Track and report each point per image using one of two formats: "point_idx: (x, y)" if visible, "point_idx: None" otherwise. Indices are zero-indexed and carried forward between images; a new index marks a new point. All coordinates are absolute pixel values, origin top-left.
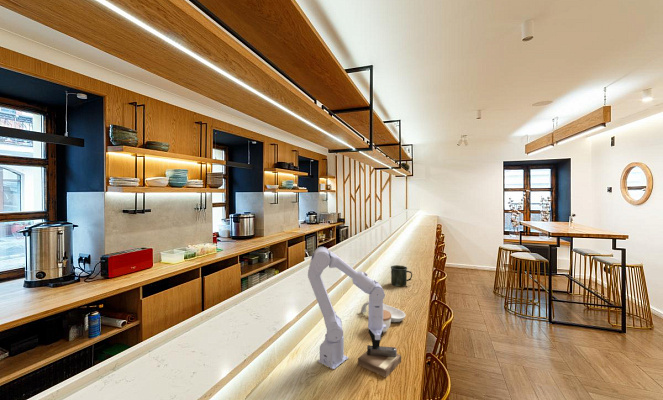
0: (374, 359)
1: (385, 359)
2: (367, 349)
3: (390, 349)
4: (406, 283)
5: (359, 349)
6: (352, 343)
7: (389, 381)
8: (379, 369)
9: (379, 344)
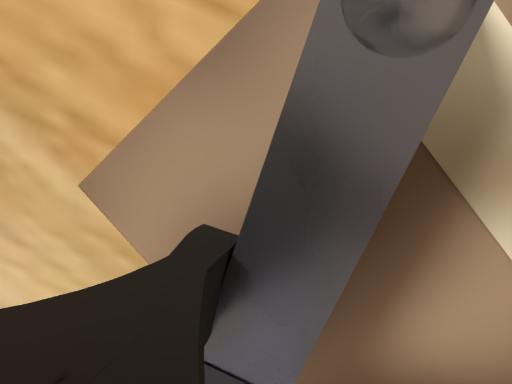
0: (394, 320)
1: (447, 186)
2: None
3: (395, 87)
4: None
5: (98, 283)
6: (12, 297)
7: None
8: None
9: (215, 258)
